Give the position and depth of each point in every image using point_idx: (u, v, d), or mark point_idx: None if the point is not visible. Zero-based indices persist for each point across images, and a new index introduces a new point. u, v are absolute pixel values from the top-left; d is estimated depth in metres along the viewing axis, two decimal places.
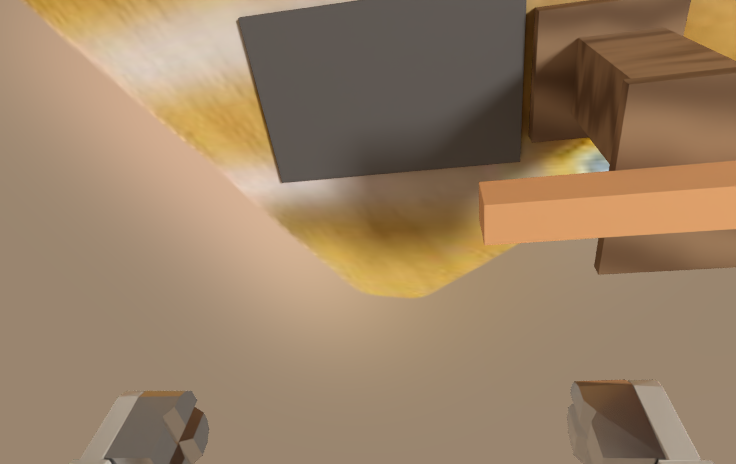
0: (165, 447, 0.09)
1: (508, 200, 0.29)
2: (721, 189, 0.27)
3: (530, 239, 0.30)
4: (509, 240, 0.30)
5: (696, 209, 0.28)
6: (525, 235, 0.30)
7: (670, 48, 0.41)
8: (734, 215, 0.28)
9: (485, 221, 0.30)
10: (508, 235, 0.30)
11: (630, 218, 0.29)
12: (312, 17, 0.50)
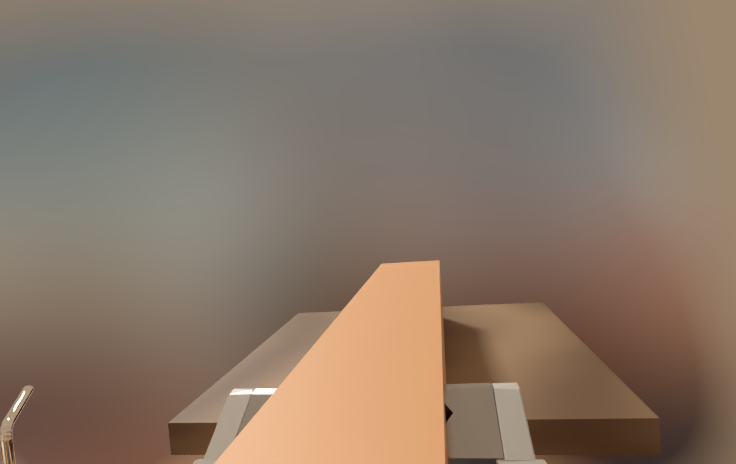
0: None
1: None
2: (364, 287, 0.18)
3: (431, 401, 0.08)
4: (427, 444, 0.06)
5: (394, 291, 0.17)
6: (407, 411, 0.07)
7: None
8: (415, 280, 0.19)
9: None
10: (396, 446, 0.06)
11: (396, 315, 0.13)
12: None
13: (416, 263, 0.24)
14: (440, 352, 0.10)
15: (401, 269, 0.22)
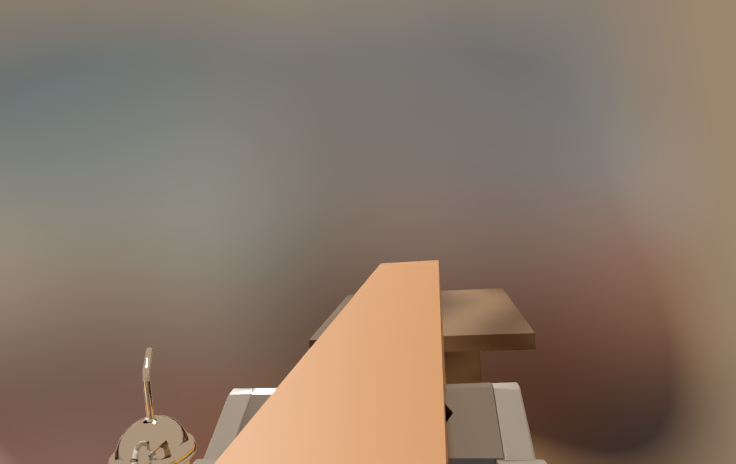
0: None
1: None
2: (363, 287, 0.18)
3: (432, 400, 0.08)
4: (427, 443, 0.06)
5: (393, 291, 0.17)
6: (408, 410, 0.07)
7: None
8: (414, 279, 0.19)
9: None
10: (396, 445, 0.06)
11: (396, 315, 0.13)
12: None
13: (415, 263, 0.24)
14: (440, 351, 0.10)
15: (400, 269, 0.22)
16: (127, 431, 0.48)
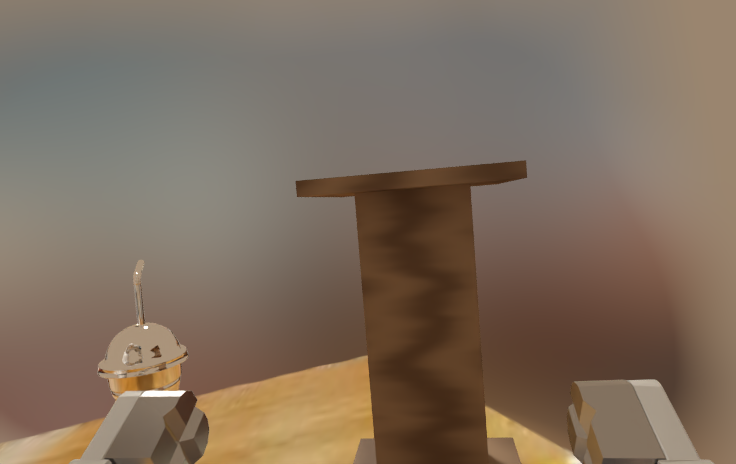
0: (165, 447, 0.09)
1: None
2: None
3: None
4: None
5: None
6: None
7: None
8: None
9: None
10: None
11: None
12: None
13: None
14: None
15: None
16: (118, 334, 0.47)
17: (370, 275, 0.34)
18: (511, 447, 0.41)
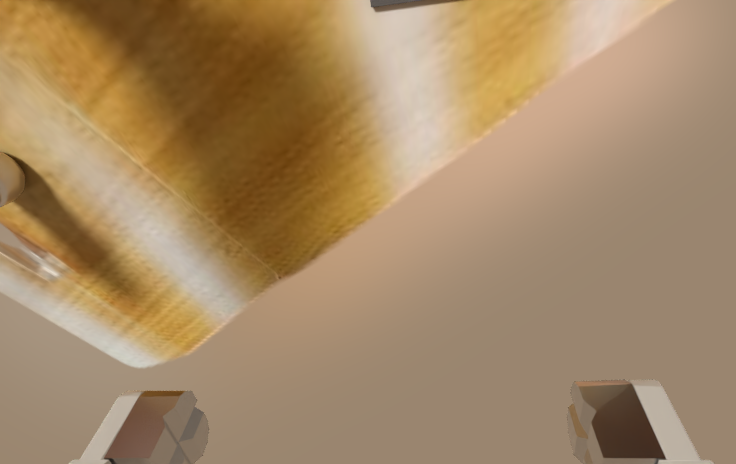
0: (165, 447, 0.09)
1: None
2: None
3: None
4: None
5: None
6: None
7: None
8: None
9: None
10: None
11: None
12: None
13: None
14: None
15: None
16: None
17: None
18: None
